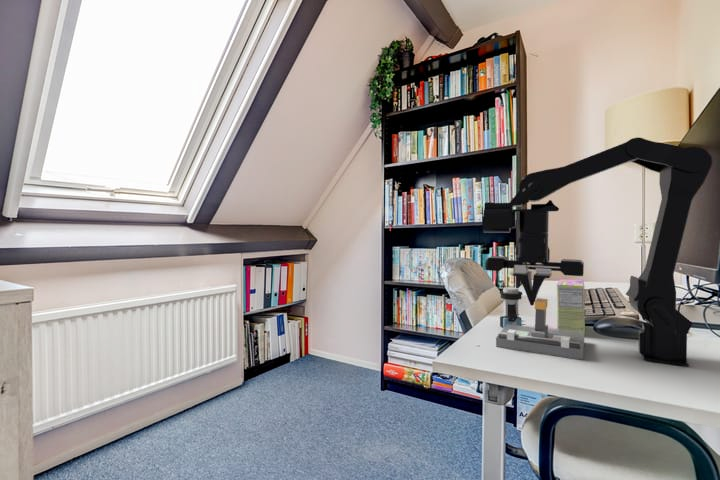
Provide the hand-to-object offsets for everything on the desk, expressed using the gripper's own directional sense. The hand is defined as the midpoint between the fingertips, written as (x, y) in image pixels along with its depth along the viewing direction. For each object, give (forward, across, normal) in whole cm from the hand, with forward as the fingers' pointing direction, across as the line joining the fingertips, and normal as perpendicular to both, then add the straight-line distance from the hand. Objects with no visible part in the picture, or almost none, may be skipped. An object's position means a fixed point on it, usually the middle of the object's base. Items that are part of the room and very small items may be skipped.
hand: (532, 305), depth 79 cm
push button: (+9, +6, -12) cm, 16 cm away
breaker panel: (+9, -2, -1) cm, 9 cm away
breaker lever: (+6, -2, 0) cm, 6 cm away
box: (+9, -7, -16) cm, 20 cm away
